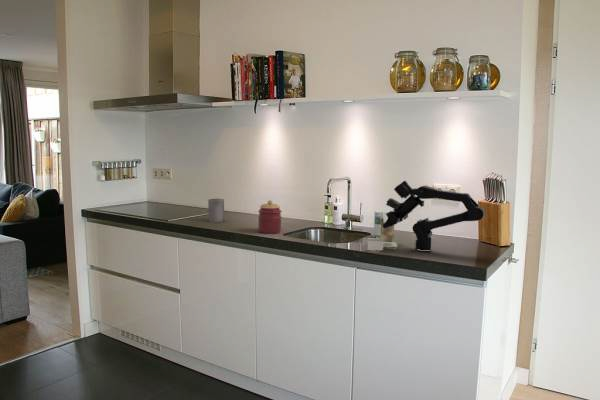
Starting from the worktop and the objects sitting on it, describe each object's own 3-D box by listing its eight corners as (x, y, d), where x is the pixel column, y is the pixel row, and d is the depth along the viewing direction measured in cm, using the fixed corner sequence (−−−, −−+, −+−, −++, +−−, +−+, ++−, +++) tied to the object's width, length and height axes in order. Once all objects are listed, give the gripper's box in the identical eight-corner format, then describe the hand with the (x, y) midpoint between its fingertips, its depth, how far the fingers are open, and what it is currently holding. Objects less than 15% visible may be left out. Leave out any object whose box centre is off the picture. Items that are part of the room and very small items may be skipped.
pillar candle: (213, 219, 296) (213, 196, 294) (227, 220, 293) (226, 197, 291) (205, 222, 287) (205, 198, 285) (219, 223, 284) (218, 198, 282)
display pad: (396, 244, 229) (396, 242, 229) (397, 248, 220) (397, 246, 220) (377, 243, 230) (377, 241, 230) (378, 247, 221) (378, 245, 221)
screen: (382, 250, 215) (383, 238, 214) (383, 251, 213) (383, 239, 212) (367, 250, 216) (367, 237, 215) (367, 251, 214) (367, 238, 213)
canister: (284, 230, 262) (284, 199, 260) (277, 234, 250) (277, 202, 248) (262, 229, 266) (263, 198, 263) (254, 233, 253) (254, 201, 251)
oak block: (393, 240, 226) (394, 222, 225) (391, 242, 221) (392, 224, 220) (383, 239, 228) (384, 221, 227) (381, 241, 223) (381, 223, 222)
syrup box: (373, 237, 245) (374, 210, 243) (379, 236, 249) (380, 209, 247) (382, 239, 241) (383, 211, 239) (388, 237, 245) (389, 210, 243)
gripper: (402, 191, 228) (380, 211, 235) (391, 194, 212) (367, 216, 218) (417, 208, 225) (395, 228, 232) (407, 213, 209) (383, 234, 216)
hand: (385, 226), depth 224 cm, fingers closed on oak block, 5 cm apart
